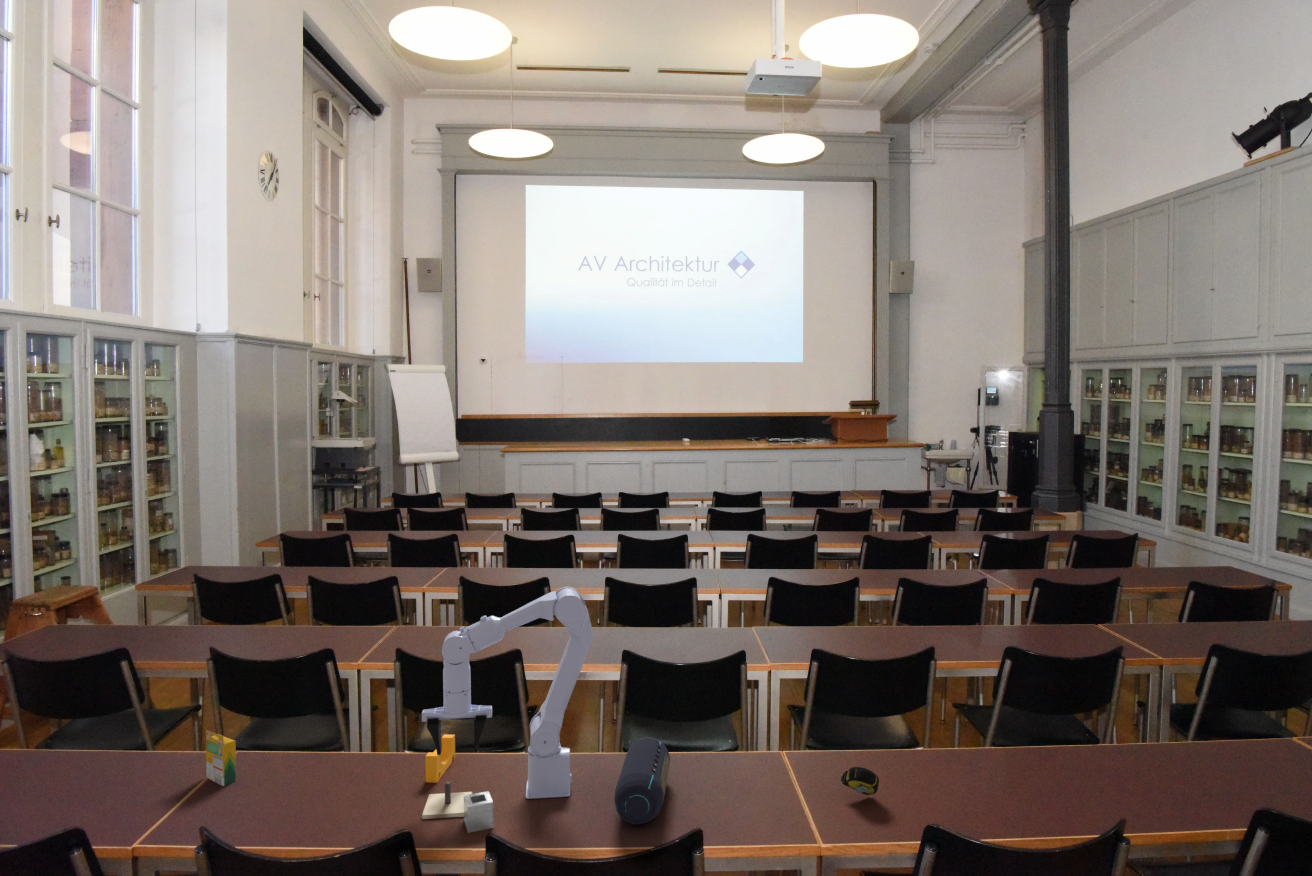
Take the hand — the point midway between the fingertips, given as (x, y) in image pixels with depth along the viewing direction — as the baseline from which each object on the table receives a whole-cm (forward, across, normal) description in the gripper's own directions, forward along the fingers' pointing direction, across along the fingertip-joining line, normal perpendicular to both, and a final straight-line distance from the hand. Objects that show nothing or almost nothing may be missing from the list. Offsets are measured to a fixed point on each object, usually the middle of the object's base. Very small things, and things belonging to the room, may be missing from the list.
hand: (457, 751), depth 167 cm
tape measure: (+10, -85, +13) cm, 87 cm away
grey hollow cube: (+10, -5, +12) cm, 17 cm away
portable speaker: (+10, -39, +7) cm, 41 cm away
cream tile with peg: (+10, +2, +4) cm, 11 cm away
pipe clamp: (+10, +6, -13) cm, 18 cm away
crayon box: (+10, +53, -15) cm, 56 cm away
